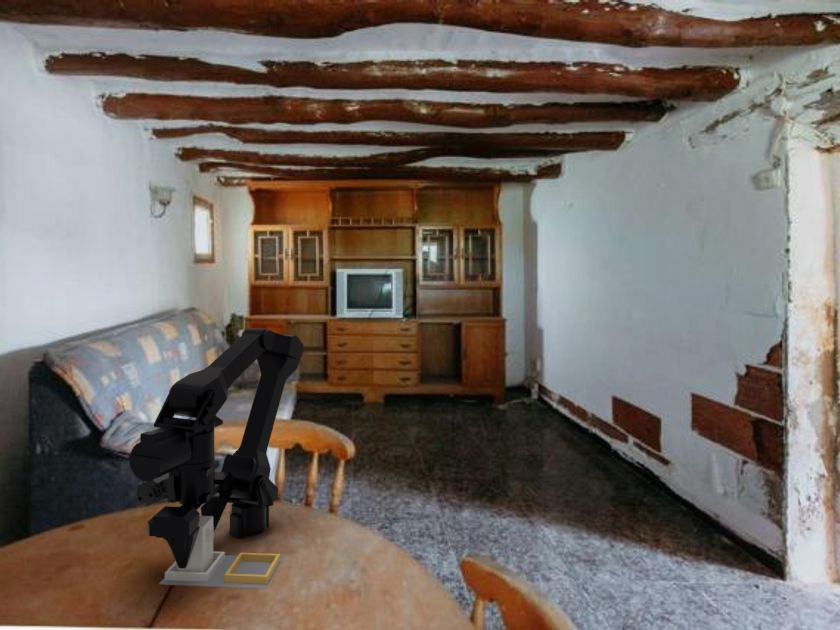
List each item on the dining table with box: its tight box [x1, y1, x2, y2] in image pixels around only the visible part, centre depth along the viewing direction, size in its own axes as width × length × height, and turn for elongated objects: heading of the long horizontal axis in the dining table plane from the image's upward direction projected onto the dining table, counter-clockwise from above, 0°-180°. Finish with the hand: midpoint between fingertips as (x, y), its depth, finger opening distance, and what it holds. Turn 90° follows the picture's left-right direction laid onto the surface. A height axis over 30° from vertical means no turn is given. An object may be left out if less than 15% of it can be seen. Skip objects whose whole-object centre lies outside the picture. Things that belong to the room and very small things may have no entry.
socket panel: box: [158, 550, 285, 590], centre depth 86 cm, size 17×9×2 cm, turn 88°
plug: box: [178, 515, 215, 573], centre depth 86 cm, size 5×4×8 cm
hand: (196, 552), depth 86 cm, fingers open, 9 cm apart
